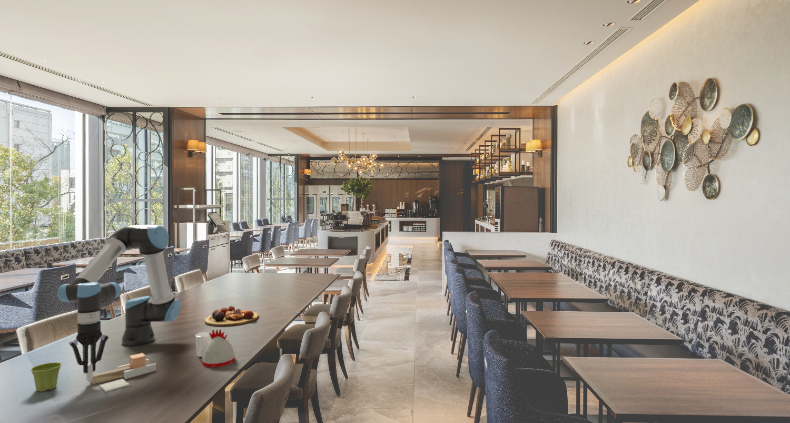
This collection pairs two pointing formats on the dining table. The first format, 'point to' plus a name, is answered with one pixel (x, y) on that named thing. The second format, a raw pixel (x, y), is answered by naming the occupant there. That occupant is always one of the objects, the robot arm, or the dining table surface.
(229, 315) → the wooden plate with food
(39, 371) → the plant pot
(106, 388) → the coaster
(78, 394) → the dining table surface
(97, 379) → the rod
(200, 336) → the white cup
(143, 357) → the block
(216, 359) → the white chicken figurine
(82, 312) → the robot arm
